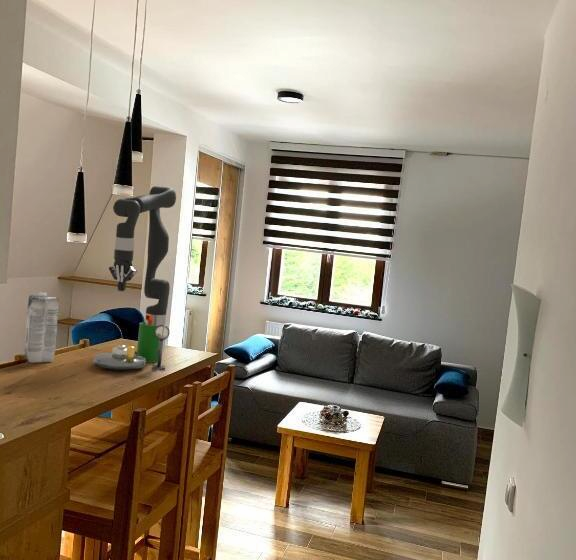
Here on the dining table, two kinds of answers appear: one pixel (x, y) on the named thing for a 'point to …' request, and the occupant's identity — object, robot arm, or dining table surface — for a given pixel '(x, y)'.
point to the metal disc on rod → (160, 344)
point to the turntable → (120, 360)
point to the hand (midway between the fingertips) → (121, 290)
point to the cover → (119, 352)
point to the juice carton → (41, 328)
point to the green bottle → (148, 340)
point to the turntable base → (118, 369)
